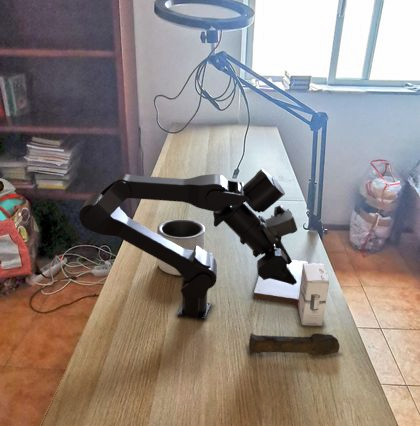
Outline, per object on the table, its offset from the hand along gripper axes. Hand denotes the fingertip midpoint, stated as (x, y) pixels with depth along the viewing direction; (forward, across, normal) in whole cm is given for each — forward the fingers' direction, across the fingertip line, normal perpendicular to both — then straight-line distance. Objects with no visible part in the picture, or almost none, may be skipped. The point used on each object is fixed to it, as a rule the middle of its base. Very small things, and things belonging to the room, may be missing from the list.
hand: (292, 272), depth 109 cm
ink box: (+12, 0, +4) cm, 13 cm away
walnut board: (+8, +15, +8) cm, 19 cm away
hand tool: (+8, -14, +8) cm, 18 cm away
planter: (-11, +21, +27) cm, 36 cm away
